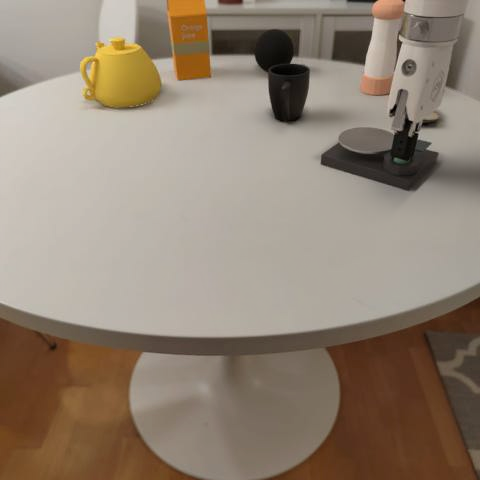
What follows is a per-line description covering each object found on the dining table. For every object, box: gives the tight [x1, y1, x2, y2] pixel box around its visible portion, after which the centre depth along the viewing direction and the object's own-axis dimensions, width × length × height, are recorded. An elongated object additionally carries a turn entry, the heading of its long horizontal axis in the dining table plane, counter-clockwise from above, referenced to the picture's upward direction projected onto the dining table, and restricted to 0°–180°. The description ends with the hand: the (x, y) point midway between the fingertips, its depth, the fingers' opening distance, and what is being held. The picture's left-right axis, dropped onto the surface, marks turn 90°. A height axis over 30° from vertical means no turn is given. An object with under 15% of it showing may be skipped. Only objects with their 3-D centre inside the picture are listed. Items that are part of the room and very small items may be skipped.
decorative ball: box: [253, 28, 295, 73], centre depth 116 cm, size 10×10×10 cm
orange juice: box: [166, 0, 212, 81], centre depth 114 cm, size 8×9×20 cm
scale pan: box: [337, 126, 433, 154], centre depth 77 cm, size 14×10×1 cm
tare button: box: [393, 158, 411, 164], centre depth 73 cm, size 3×3×2 cm
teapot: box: [79, 36, 163, 108], centre depth 105 cm, size 20×19×13 cm
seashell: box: [422, 111, 440, 124], centre depth 92 cm, size 8×3×8 cm
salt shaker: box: [359, 0, 405, 96], centre depth 101 cm, size 7×7×19 cm
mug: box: [267, 63, 311, 123], centre depth 92 cm, size 8×12×10 cm
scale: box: [320, 142, 440, 192], centre depth 78 cm, size 16×12×4 cm
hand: (401, 156), depth 73 cm, fingers closed
